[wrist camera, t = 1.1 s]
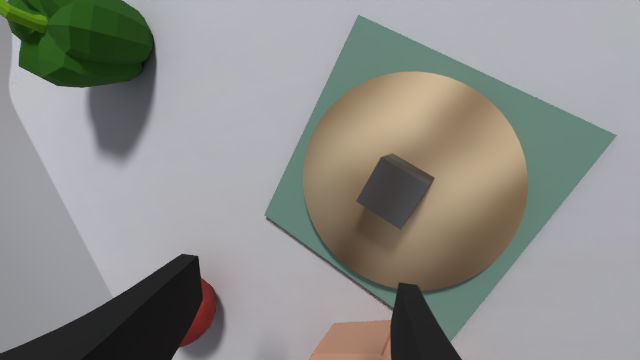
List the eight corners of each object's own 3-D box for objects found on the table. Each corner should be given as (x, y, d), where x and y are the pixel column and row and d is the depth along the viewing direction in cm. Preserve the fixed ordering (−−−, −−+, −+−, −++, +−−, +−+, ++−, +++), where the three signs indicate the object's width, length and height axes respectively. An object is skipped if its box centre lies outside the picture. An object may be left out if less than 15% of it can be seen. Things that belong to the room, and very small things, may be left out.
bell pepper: (177, 74, 30) (48, 52, 21) (117, 103, 33) (-16, 95, 24) (150, -23, 30) (7, -88, 20) (92, 17, 33) (-52, -23, 24)
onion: (199, 324, 33) (121, 379, 26) (177, 267, 33) (94, 307, 26) (244, 313, 31) (173, 371, 23) (220, 252, 31) (142, 291, 24)
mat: (613, 135, 18) (616, 135, 18) (447, 342, 24) (446, 346, 23) (360, 17, 23) (358, 14, 22) (267, 213, 28) (264, 214, 28)
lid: (583, 142, 19) (608, 146, 15) (441, 326, 23) (435, 361, 20) (364, 36, 23) (344, 20, 19) (279, 211, 27) (250, 224, 24)
